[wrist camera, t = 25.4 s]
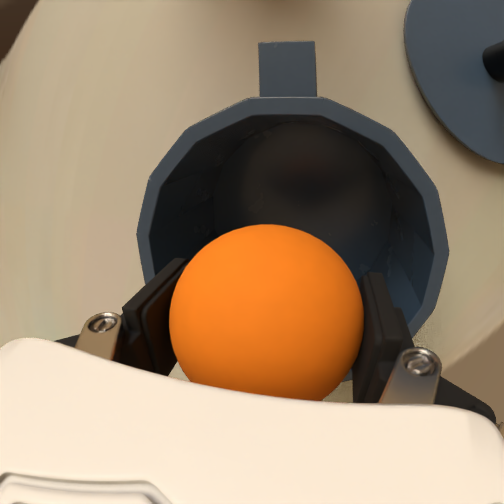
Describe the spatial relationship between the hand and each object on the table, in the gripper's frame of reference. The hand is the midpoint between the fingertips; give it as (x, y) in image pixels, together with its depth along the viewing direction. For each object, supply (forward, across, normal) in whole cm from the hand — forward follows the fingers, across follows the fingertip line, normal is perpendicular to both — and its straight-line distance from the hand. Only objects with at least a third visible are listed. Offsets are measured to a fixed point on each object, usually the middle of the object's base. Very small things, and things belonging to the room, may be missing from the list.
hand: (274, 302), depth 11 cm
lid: (+12, -16, -14) cm, 24 cm away
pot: (+12, 0, 0) cm, 12 cm away
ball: (+2, 0, 0) cm, 2 cm away
